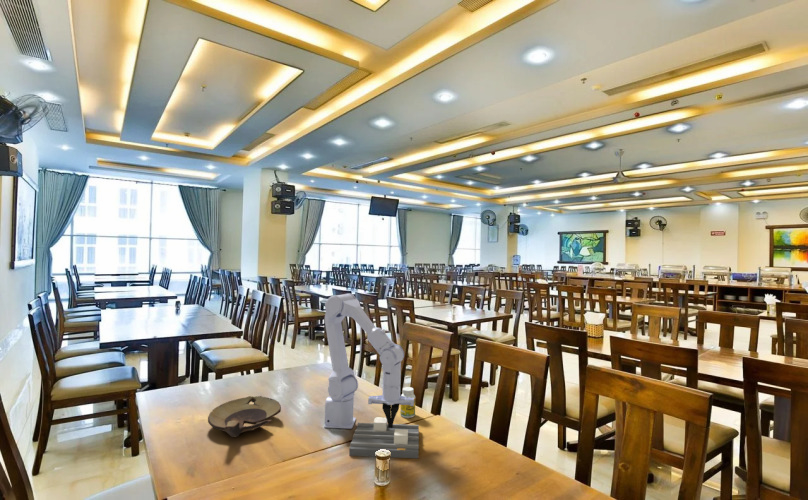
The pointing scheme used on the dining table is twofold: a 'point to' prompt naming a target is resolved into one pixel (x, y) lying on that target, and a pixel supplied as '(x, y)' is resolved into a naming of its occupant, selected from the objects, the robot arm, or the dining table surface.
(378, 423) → the far switch tab
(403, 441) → the near switch tab
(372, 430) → the switch board
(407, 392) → the supplement bottle
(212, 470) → the dining table surface
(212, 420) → the grey shallow oval dish
